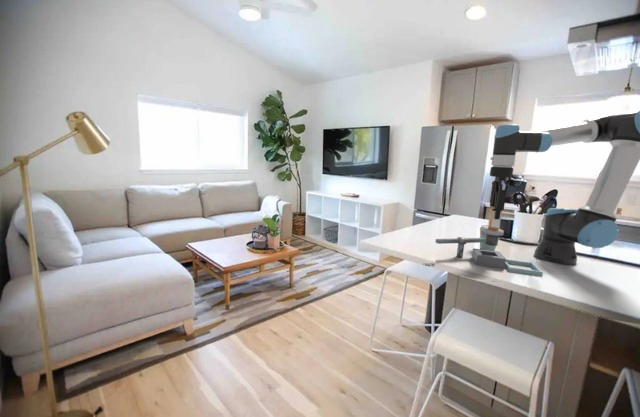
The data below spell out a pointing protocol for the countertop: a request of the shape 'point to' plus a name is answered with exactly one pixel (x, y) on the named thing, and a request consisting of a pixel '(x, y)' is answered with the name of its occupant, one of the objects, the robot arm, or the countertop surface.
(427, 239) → the countertop surface
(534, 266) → the tray
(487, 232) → the tamper
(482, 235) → the coffee cup
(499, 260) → the socket block
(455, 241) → the grey lever handle
